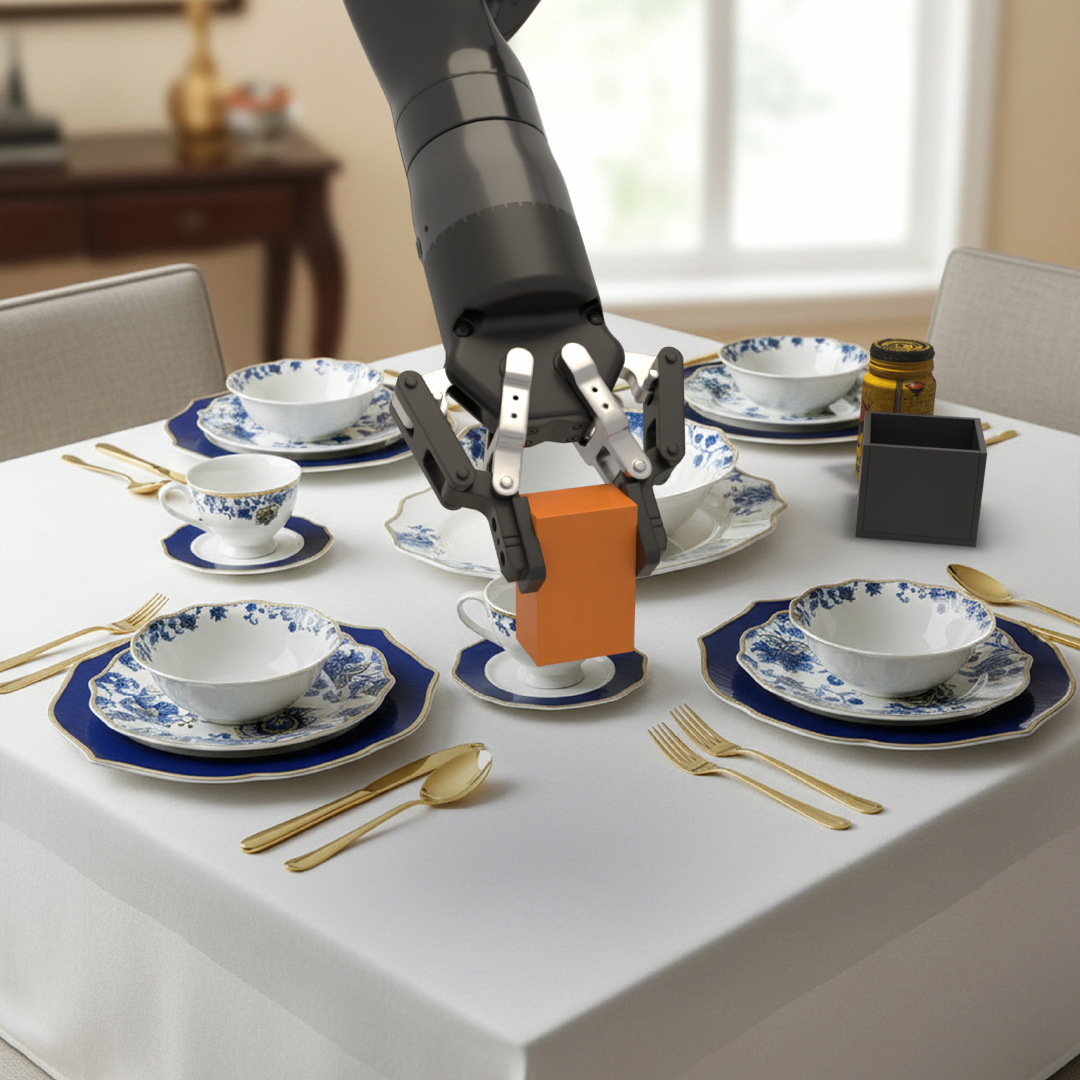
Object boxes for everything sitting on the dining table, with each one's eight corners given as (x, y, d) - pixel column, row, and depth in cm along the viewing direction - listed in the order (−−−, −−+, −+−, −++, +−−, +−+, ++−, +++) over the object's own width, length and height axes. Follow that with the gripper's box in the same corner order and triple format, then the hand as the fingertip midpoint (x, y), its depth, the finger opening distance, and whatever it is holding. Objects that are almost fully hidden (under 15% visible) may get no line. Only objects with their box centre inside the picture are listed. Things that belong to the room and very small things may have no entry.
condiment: (835, 472, 128) (846, 337, 123) (919, 462, 130) (932, 330, 126) (879, 499, 122) (892, 359, 117) (966, 488, 124) (983, 350, 120)
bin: (969, 509, 120) (980, 418, 117) (975, 550, 111) (987, 453, 108) (856, 500, 121) (865, 410, 118) (854, 540, 113) (863, 444, 110)
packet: (515, 639, 66) (514, 494, 64) (609, 624, 68) (612, 482, 65) (537, 667, 64) (536, 517, 61) (634, 651, 65) (638, 504, 63)
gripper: (361, 205, 63) (446, 566, 57) (665, 187, 68) (774, 521, 61) (341, 301, 70) (415, 634, 64) (619, 279, 74) (713, 588, 68)
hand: (591, 576), depth 63 cm, fingers closed on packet, 4 cm apart
